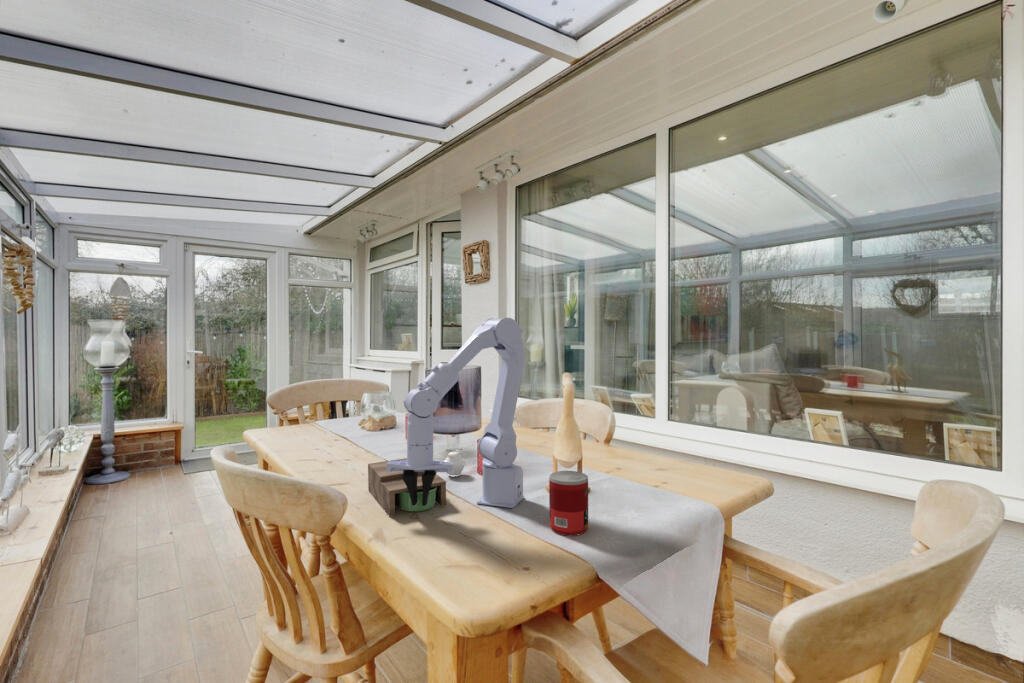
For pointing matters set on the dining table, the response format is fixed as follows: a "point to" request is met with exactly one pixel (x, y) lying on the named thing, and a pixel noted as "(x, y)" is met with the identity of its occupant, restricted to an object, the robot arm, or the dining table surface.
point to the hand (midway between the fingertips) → (419, 504)
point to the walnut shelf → (397, 486)
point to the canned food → (568, 502)
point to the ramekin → (407, 504)
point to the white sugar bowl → (455, 463)
